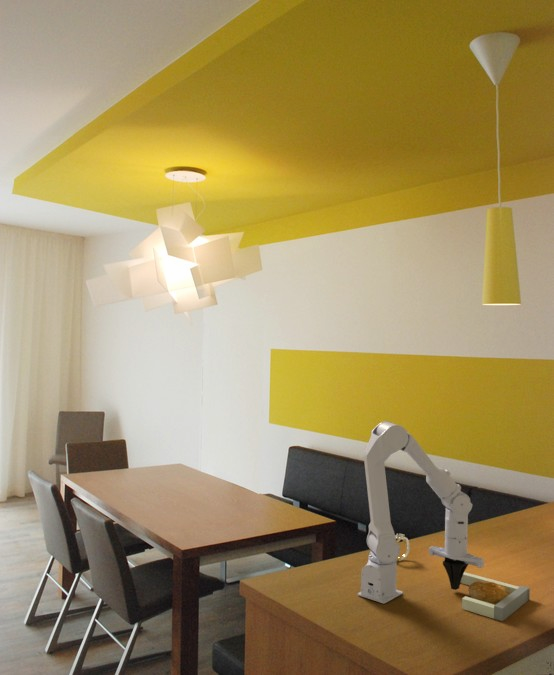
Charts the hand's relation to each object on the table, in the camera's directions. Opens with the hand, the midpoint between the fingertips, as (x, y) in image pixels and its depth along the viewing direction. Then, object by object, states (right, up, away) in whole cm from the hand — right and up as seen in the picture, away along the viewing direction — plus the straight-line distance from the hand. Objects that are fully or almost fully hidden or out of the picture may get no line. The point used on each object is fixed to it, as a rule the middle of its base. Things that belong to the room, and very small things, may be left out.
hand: (455, 588), depth 161 cm
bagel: (+8, -1, -5) cm, 9 cm away
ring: (-10, -2, +24) cm, 26 cm away
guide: (+4, -1, -4) cm, 6 cm away
